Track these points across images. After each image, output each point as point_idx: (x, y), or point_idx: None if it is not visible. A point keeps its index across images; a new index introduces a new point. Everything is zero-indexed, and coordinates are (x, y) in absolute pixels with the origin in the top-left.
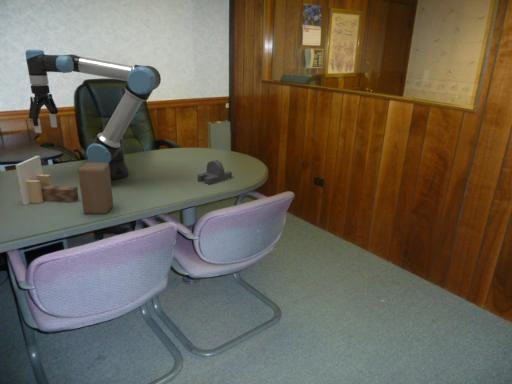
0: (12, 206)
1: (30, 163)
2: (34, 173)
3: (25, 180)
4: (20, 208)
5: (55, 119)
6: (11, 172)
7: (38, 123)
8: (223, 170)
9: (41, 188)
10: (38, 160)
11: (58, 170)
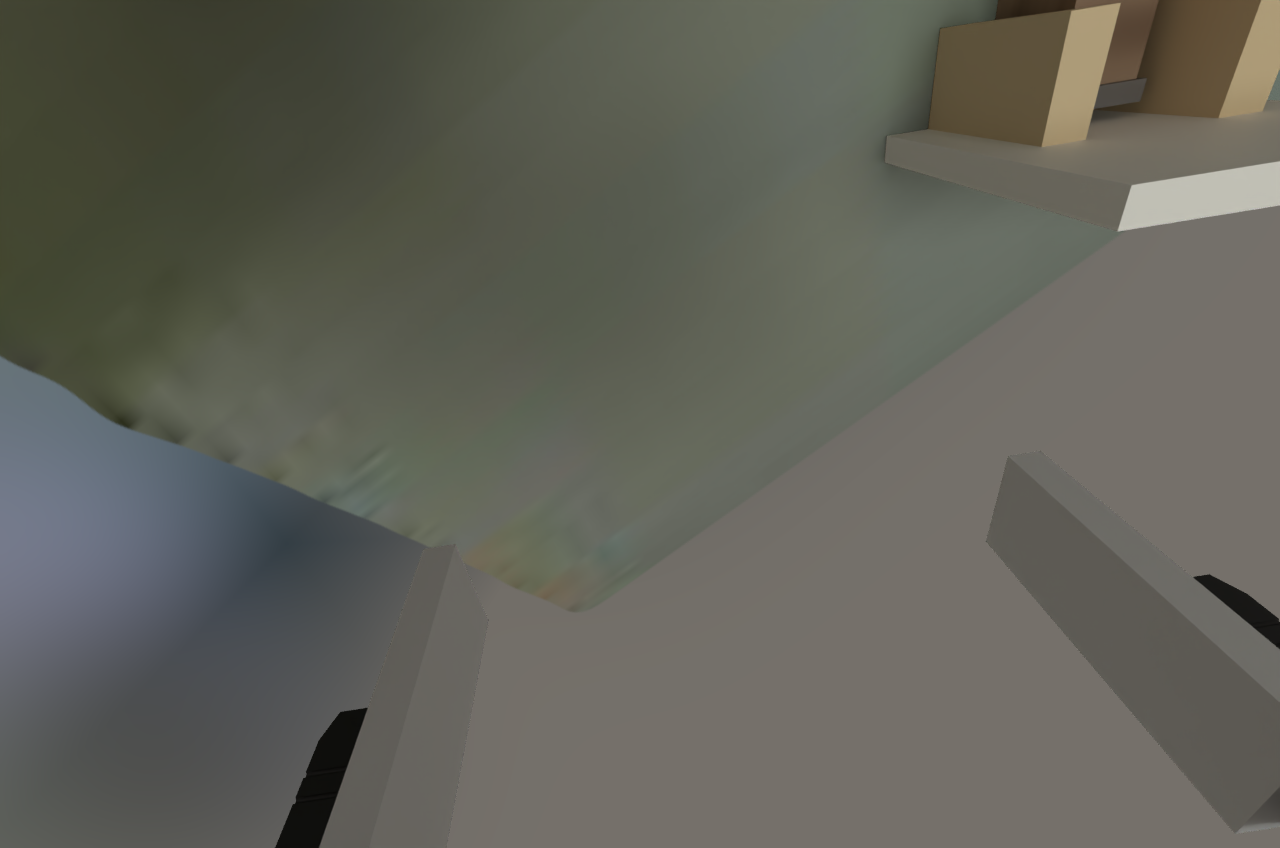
0: None
1: None
2: (1145, 137)
3: (1275, 111)
4: None
5: (404, 707)
6: (578, 586)
7: (1214, 621)
8: None
9: (1155, 7)
10: (1136, 170)
11: (415, 398)
